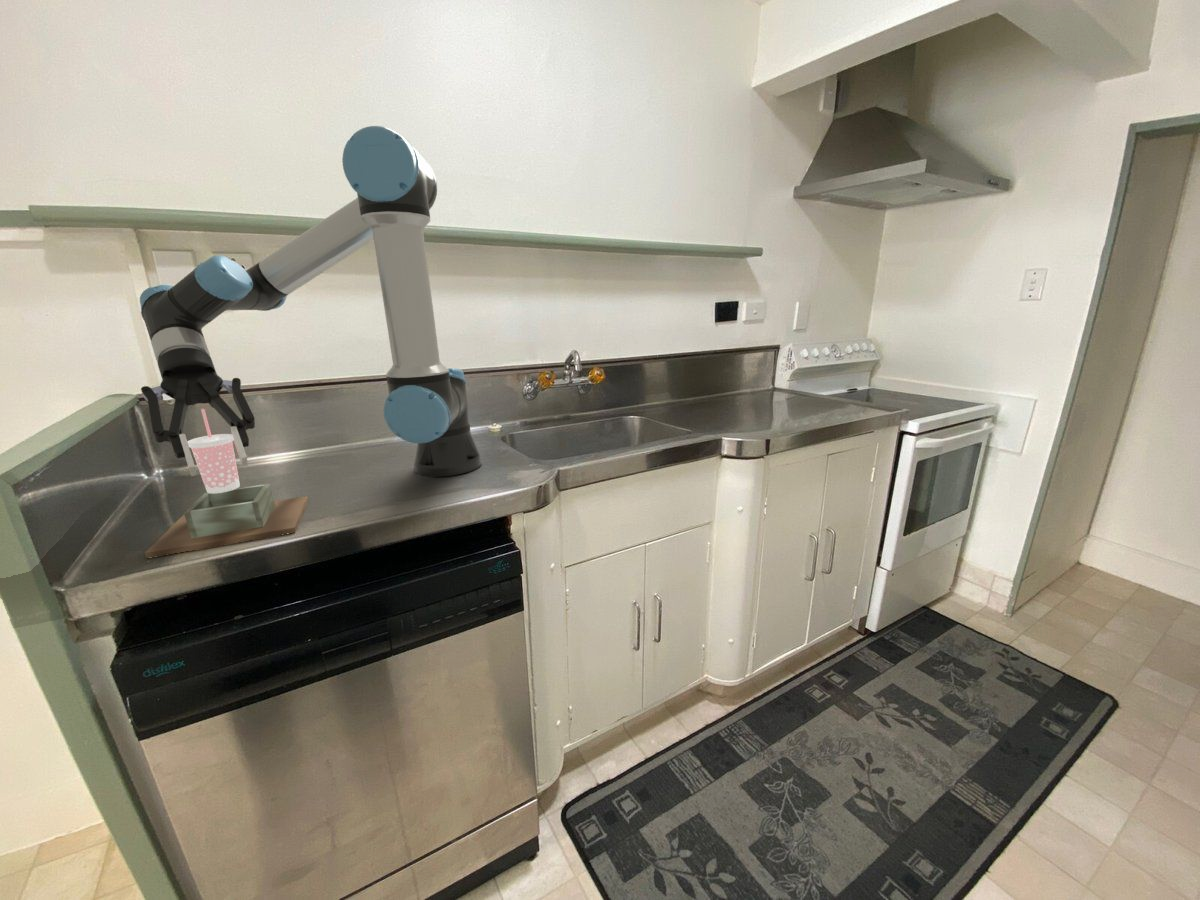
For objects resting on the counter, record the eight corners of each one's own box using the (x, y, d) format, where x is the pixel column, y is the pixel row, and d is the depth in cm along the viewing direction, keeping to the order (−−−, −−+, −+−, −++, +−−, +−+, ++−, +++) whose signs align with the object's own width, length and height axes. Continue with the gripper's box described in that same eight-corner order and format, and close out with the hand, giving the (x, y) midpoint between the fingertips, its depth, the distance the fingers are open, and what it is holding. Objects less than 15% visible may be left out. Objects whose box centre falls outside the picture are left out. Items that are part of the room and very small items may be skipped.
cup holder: (308, 500, 96) (302, 474, 95) (295, 532, 82) (288, 502, 81) (184, 520, 89) (176, 492, 88) (146, 559, 75) (135, 526, 73)
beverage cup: (208, 485, 86) (187, 407, 82) (249, 480, 88) (230, 403, 84) (195, 497, 80) (171, 414, 76) (239, 491, 82) (218, 410, 78)
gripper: (249, 368, 96) (286, 464, 89) (115, 379, 83) (146, 493, 76) (248, 341, 90) (286, 442, 83) (105, 349, 78) (136, 468, 71)
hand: (219, 466), depth 80 cm, fingers closed on beverage cup, 6 cm apart
